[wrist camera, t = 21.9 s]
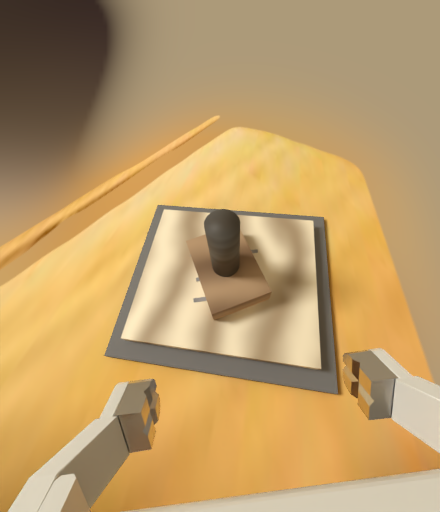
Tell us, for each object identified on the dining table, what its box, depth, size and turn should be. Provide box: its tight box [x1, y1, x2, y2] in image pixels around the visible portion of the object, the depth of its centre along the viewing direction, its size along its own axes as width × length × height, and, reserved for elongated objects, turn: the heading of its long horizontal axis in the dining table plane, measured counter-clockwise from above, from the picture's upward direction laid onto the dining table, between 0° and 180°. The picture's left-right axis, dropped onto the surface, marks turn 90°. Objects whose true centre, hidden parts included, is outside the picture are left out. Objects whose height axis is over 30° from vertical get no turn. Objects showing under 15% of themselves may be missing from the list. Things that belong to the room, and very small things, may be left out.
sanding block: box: [186, 209, 272, 320], centre depth 25 cm, size 10×7×10 cm
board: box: [121, 209, 321, 370], centre depth 30 cm, size 22×19×2 cm
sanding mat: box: [104, 205, 338, 394], centre depth 31 cm, size 26×23×1 cm
